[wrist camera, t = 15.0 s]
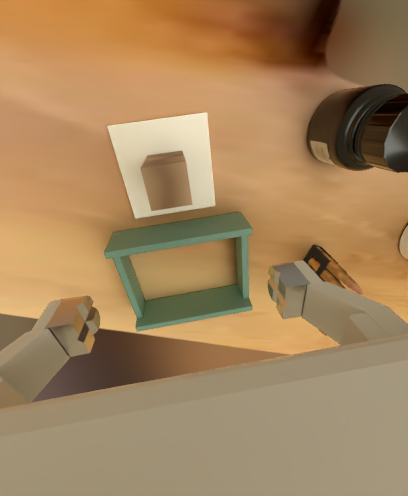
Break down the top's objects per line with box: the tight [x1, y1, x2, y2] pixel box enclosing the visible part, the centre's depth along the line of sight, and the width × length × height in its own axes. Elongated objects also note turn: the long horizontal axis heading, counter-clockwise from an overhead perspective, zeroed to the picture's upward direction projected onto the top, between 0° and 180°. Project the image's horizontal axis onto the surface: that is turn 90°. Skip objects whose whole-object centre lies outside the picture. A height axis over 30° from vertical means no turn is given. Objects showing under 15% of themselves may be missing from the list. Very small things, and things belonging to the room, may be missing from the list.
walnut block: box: [140, 151, 192, 211], centre depth 26 cm, size 4×4×8 cm
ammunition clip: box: [303, 245, 363, 335], centre depth 38 cm, size 11×2×12 cm, turn 161°
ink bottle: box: [308, 84, 408, 173], centre depth 26 cm, size 10×9×12 cm
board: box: [107, 112, 216, 219], centre depth 30 cm, size 12×12×1 cm
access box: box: [104, 212, 252, 331], centre depth 36 cm, size 20×16×6 cm
